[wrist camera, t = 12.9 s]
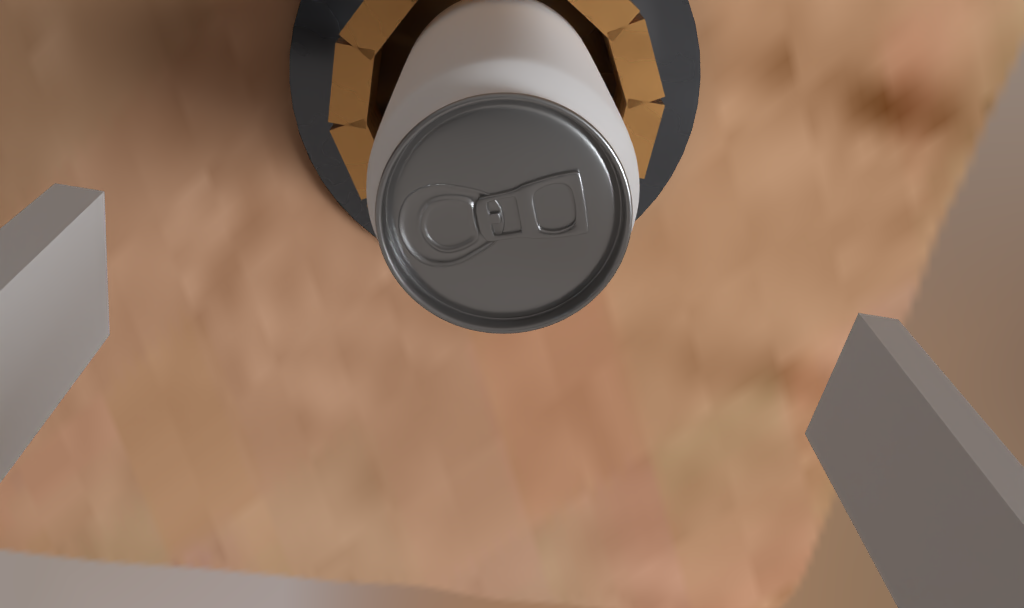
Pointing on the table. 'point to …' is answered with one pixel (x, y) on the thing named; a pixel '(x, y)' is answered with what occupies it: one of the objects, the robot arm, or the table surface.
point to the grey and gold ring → (397, 25)
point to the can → (502, 170)
